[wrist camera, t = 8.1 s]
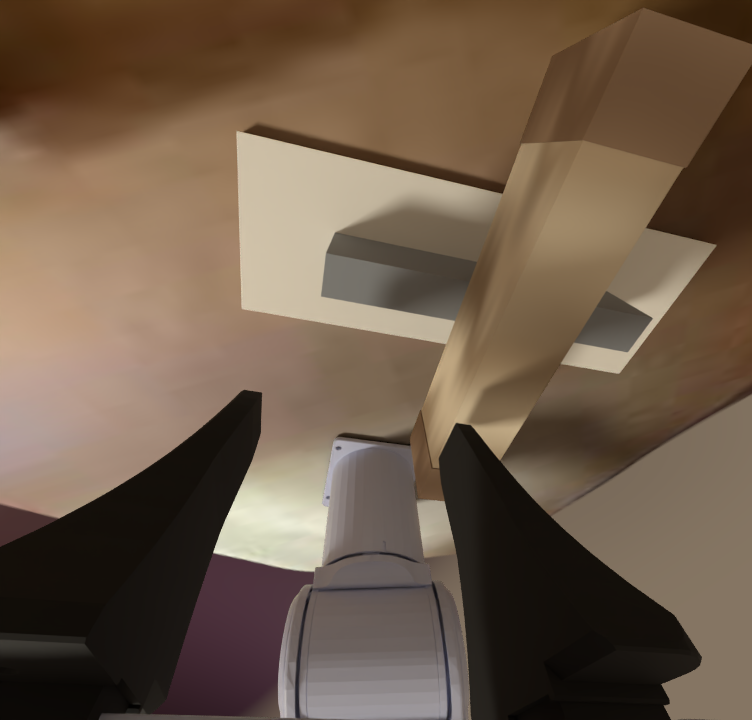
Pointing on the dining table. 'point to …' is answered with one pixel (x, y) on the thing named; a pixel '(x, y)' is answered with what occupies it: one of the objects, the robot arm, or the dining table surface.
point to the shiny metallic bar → (572, 216)
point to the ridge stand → (411, 252)
